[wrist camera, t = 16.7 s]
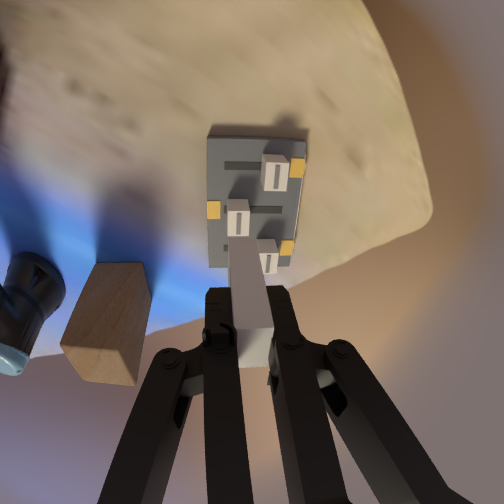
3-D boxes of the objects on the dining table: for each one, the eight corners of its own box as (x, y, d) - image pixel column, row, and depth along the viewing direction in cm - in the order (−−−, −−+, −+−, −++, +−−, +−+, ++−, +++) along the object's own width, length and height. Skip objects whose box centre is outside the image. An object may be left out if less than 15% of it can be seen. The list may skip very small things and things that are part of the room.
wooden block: (108, 300, 55) (83, 381, 38) (95, 261, 49) (57, 344, 33) (152, 300, 56) (137, 387, 39) (143, 260, 50) (118, 350, 34)
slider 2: (260, 180, 41) (264, 191, 38) (262, 154, 39) (266, 162, 36) (280, 180, 42) (286, 192, 38) (283, 154, 39) (289, 163, 36)
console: (209, 260, 51) (209, 268, 50) (207, 136, 39) (206, 139, 37) (289, 259, 53) (291, 266, 51) (305, 139, 41) (309, 142, 39)
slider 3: (254, 259, 49) (257, 275, 46) (256, 239, 47) (259, 254, 43) (272, 259, 49) (276, 274, 46) (274, 238, 47) (279, 253, 44)
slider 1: (226, 222, 45) (227, 237, 41) (227, 198, 42) (227, 211, 39) (246, 222, 45) (248, 236, 42) (247, 199, 43) (250, 211, 39)
